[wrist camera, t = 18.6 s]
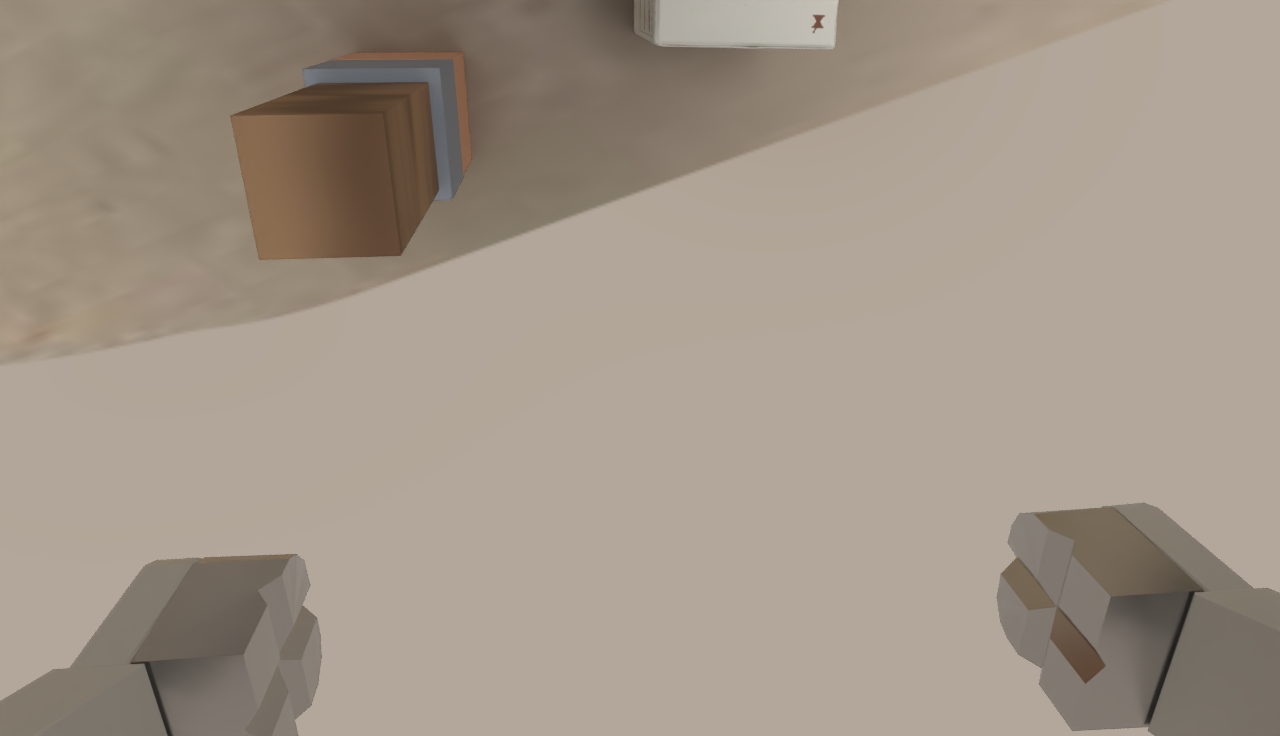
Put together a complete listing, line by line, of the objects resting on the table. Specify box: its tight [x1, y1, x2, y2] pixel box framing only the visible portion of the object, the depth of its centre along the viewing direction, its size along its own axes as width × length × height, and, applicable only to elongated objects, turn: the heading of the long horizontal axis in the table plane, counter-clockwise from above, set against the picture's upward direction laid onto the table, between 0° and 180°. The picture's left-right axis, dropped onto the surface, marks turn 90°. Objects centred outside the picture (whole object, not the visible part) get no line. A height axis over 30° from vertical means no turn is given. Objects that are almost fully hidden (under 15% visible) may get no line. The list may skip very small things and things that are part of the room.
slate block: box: [303, 59, 464, 201], centre depth 37 cm, size 6×6×5 cm
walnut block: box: [230, 82, 439, 260], centre depth 31 cm, size 4×4×10 cm
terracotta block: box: [332, 52, 472, 176], centre depth 42 cm, size 6×6×5 cm
